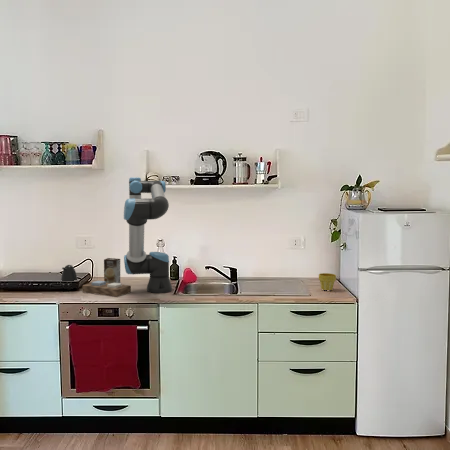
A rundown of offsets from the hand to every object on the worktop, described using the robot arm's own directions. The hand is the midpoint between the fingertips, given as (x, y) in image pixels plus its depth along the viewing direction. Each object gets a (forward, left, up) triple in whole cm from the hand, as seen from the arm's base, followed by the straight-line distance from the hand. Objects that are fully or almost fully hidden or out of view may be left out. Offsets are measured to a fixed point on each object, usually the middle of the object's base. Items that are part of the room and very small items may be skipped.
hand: (135, 238), depth 331 cm
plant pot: (-115, -40, -30) cm, 125 cm away
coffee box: (+13, +8, -30) cm, 33 cm away
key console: (0, +29, -29) cm, 41 cm away
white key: (-6, +29, -27) cm, 40 cm away
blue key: (+6, +29, -27) cm, 40 cm away
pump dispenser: (+25, +34, -30) cm, 52 cm away
